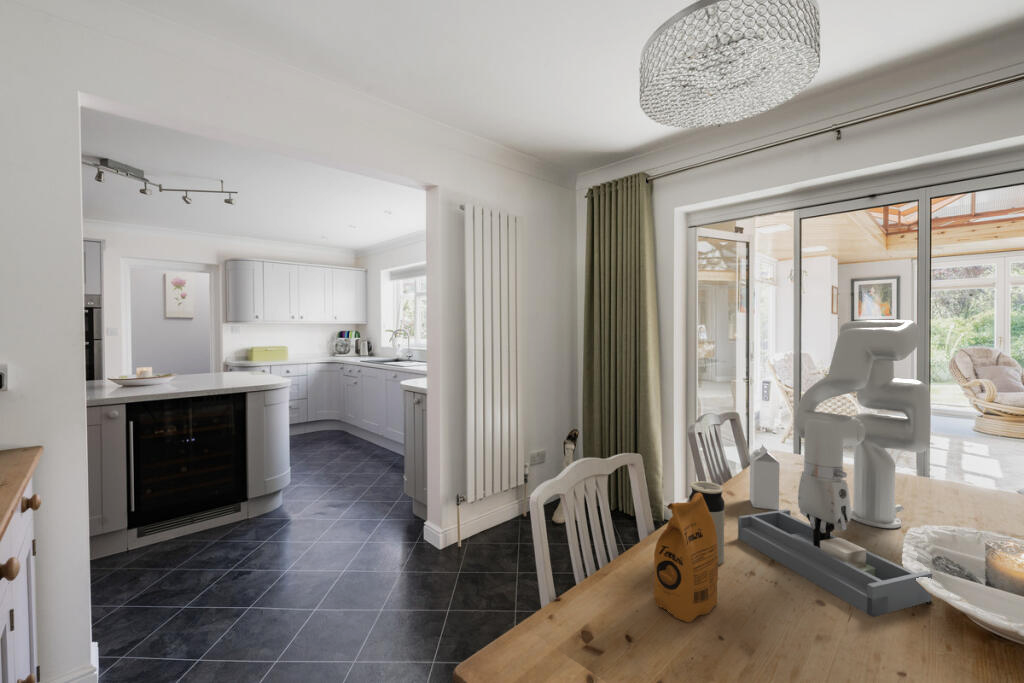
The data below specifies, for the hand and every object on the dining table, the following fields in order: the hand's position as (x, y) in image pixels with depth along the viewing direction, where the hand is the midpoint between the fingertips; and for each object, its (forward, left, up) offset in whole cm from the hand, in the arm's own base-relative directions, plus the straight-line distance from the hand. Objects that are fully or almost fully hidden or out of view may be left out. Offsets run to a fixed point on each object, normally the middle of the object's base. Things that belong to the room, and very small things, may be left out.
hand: (821, 546), depth 105 cm
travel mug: (+24, -11, -5) cm, 27 cm away
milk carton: (-17, -33, -5) cm, 37 cm away
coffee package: (+41, +3, -5) cm, 41 cm away
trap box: (0, 0, -5) cm, 5 cm away
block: (0, +5, -1) cm, 5 cm away
